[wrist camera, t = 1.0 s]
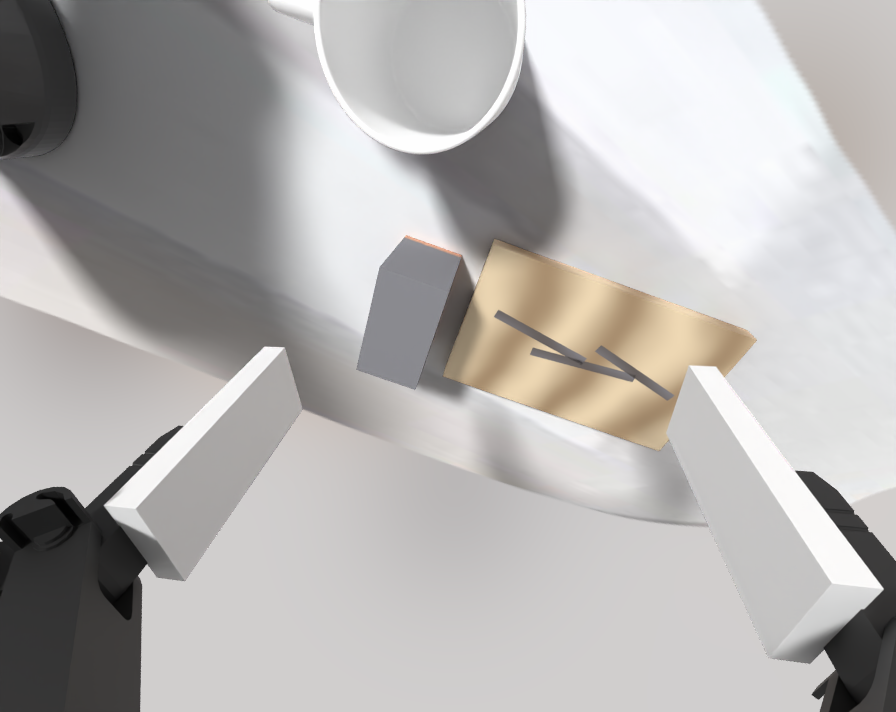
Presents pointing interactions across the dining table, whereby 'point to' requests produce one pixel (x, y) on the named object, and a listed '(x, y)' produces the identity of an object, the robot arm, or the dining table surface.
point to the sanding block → (406, 310)
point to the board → (584, 345)
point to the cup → (417, 64)
